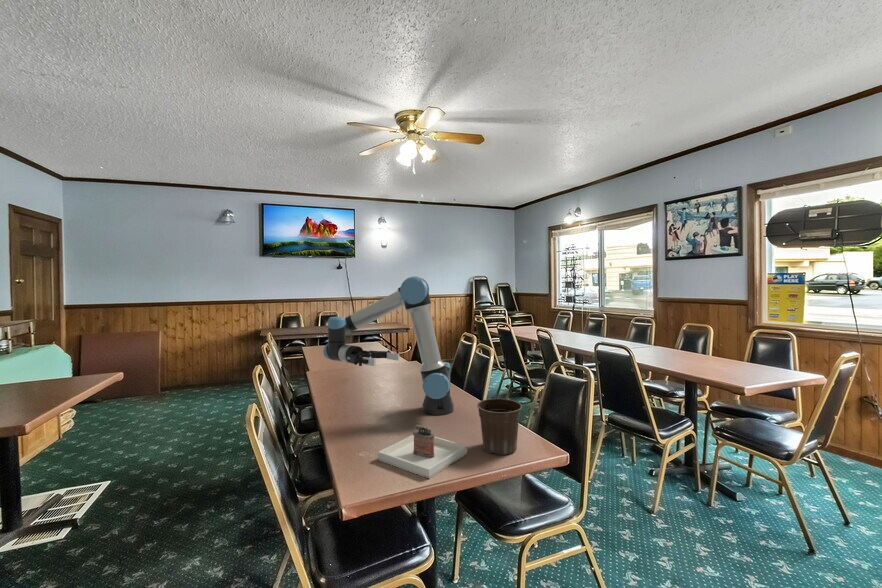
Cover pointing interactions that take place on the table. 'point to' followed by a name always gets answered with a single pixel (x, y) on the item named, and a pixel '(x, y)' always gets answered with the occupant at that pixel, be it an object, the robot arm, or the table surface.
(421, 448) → the lighter
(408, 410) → the table surface
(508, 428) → the plant pot
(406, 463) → the tray
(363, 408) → the table surface
